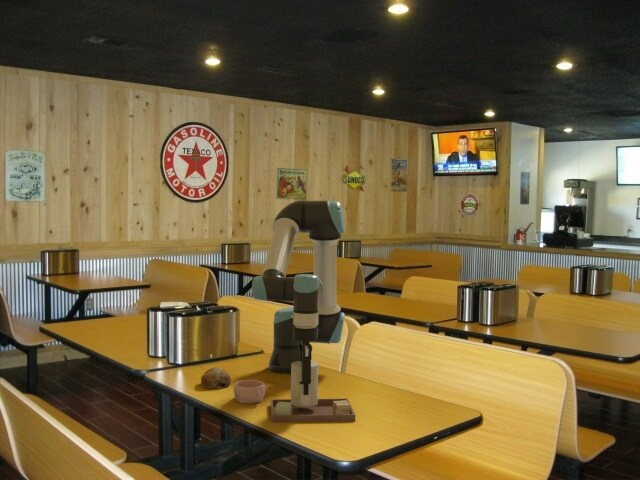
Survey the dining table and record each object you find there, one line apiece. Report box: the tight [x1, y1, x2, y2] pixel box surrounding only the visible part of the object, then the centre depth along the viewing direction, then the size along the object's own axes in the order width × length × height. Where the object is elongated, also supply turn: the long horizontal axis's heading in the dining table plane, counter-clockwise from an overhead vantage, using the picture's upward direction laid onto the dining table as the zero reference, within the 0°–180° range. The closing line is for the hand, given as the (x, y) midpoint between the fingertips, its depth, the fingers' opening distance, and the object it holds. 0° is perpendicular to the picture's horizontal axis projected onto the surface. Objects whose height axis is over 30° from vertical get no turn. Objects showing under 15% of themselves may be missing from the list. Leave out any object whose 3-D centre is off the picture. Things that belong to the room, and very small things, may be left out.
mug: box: [233, 379, 267, 405], centre depth 210 cm, size 12×10×6 cm
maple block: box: [333, 400, 351, 414], centre depth 196 cm, size 4×4×4 cm
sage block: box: [275, 402, 292, 415], centre depth 194 cm, size 4×4×4 cm
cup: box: [290, 360, 319, 407], centre depth 201 cm, size 8×8×12 cm
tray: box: [270, 398, 356, 423], centre depth 199 cm, size 16×24×2 cm, turn 96°
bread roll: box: [200, 366, 232, 390], centre depth 229 cm, size 10×10×8 cm
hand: (304, 400), depth 202 cm, fingers closed on cup, 8 cm apart
